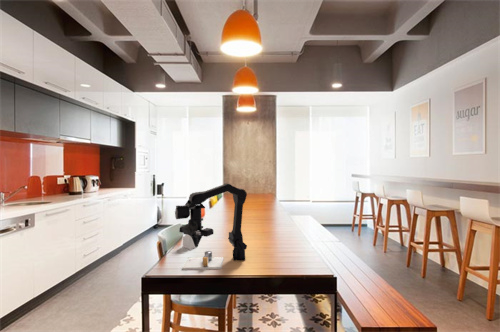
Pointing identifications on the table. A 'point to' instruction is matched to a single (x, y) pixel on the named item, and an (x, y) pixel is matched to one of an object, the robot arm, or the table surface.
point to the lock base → (198, 263)
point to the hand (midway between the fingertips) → (196, 246)
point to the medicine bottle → (188, 242)
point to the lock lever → (207, 258)
